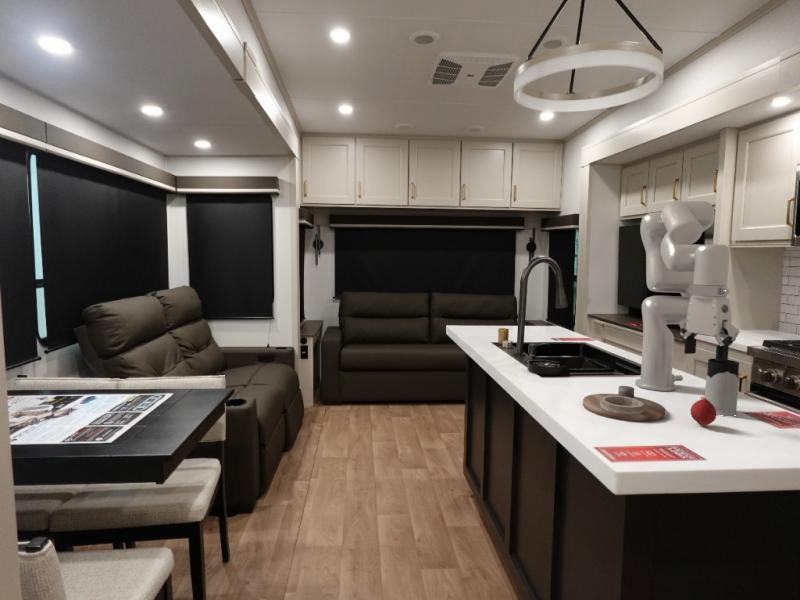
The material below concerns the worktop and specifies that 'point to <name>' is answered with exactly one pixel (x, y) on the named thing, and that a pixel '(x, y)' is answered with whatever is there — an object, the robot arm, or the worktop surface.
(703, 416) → the red rounded piece
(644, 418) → the carrier plate
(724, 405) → the glass holder
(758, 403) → the worktop surface
